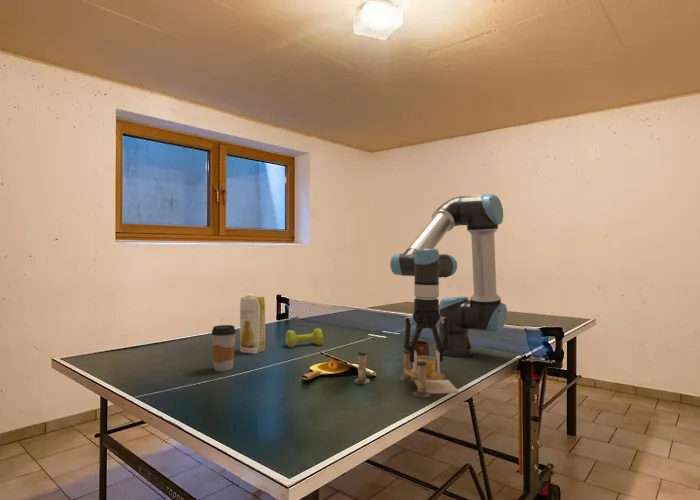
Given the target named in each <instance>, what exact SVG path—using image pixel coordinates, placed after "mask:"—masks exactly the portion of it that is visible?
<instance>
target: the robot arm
mask: <svg viewBox="0 0 700 500" xmlns="http://www.w3.org/2000/svg"><path fill="white" fill-rule="evenodd" d="M503 222H504V208H503V205H502V202H501V200H500V198H499V197H498V196H497V195H495V194H490V193H488V194H487V193H486V194H485V193H484V194H483V193H482V194H476V195H475V194H474V195H472V194H471V195H464V196H463V195H462V196H461V195H459V196H455V197H453V198H451V199H449V200H447V201H445V202H444V203H442V204H441V205H440V206H439V207H438V208H436V210H435V211H434V212H433V213H432V215H431V220H430V221H429V222H428V223H427V224H426V226H425V227H424V228H423V229H422V231H421V232H420V233H419V234H418V235H417V236H416V238H415V239H414V240H413V241H412V243H411V244H410V245H409V246H408V247H407V249H406V250H405V251H404V252H403V253H396V254H394V255H392V256H391V258H390V263H389V264H390V265H389V266H390V269H391V272H392V273H393V275H395V276H402V277H414V282H413V283H414V285H413V286H414V287H413V288H414V292H413V293H414V300H413V302H414V303H413V304H414V305H413V306H414V307H413V314H412V315H411V316H405V317H404V318H403V319H404V323H405V326H404V327H405V329H404V336H403V337H404V338H403V339H404V340H403V349H404V350H409V352H410V353H409V359H410V361H411V362H413V372H414V374H416V373H417V352H416V351H415V348H416V345H417V342H418V341H419V338H420V335H421V334H422V333H421V332H422V331H423V329H430V330H431V333H432V337H433V339H434V342H435V345H434V352H435V353H434V358H436V359H437V361H436V366H435V371H436V372H437V373H441V367H440V366H441V365H440V363H442V362H443V361H444V356H447V357H468V356H471V355H473V346H472V343H471V339H470V337H469V331H470V330H471V331H479V332H487V333H499V332H501V330H502V329H503V328H504V326H505V323H506V320H507V315H508V314H507V313H508V308H507V305H506V304H505V303H503V302H502V298H501V296H500V295H499V294H498V292H497V274H496V272H497V271H496V269H497V268H496V248H495V247H496V244H495V233H496V231H498V230H499V225H501V224H502V223H503ZM458 226H466V230H467V232H468V233H469V234H470V236H471V238H470V239H471V258H472V260H471V261H472V277H473V278H472V280H473V281H472V282H473V285H472V286H473V294H472V295H471V296H470V297H468V296H453V297H444V298H442V299H440V300H439V299H438V298H439V295H440V293H439V292H440V289H439V288H440V286H439V285H440V284H439V283H440V282H439V281H440V278H449V277H452V276H453V275H454V274H455V273H456V272H457V270H458V263H457V262H458V261H457V260H456V258H455V257H454V256H453V255H450V254H446V253H442V254H440V252H439V251H440V250H439V249H437V248H436V247H437V245H438V244H439V243H440V241H441V240H442V239H443V237H444V236H445V235H446V233H448V232H449V231H451V230H452V229H454V227H458ZM413 321H414V322H415V323H416V325H415V331H414V333H413V336H412V338H411V324H412V323H413ZM438 322H439V331H438V329H437V326H436V325H437V323H438ZM409 341H411V344H410V346H409Z"/></svg>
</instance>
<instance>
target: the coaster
mask: <svg viewBox="0 0 700 500" xmlns="http://www.w3.org/2000/svg"><path fill="white" fill-rule="evenodd" d="M417 380H418V379H415V381H414V383H415V385H416V386H417ZM426 392H429V393H430V394H459V390H458V389H457V388H456V387H455V386H454V384H453V383H452V382H451V381H450V379H441V380H426Z"/></svg>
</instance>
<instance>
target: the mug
mask: <svg viewBox="0 0 700 500" xmlns="http://www.w3.org/2000/svg"><path fill="white" fill-rule="evenodd" d="M411 341H412V340H409V346H410V344H411ZM415 351H416V352H417V356H421V355H422V356H430V343H429V341H424V340H418V342H417V345H416V348H415ZM411 369H413V362H411Z"/></svg>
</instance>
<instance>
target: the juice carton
mask: <svg viewBox="0 0 700 500" xmlns="http://www.w3.org/2000/svg"><path fill="white" fill-rule="evenodd" d="M239 311H240V313H239V346H240V347H239V349H240V351H239V352H241V353H245V354H253V355H256V354H259V353H261V352H264V351H265V347H266V346H265V345H266V297H265V296H255V294H254V293H249V294H247V295H246V296H241V297H240V305H239Z"/></svg>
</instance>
